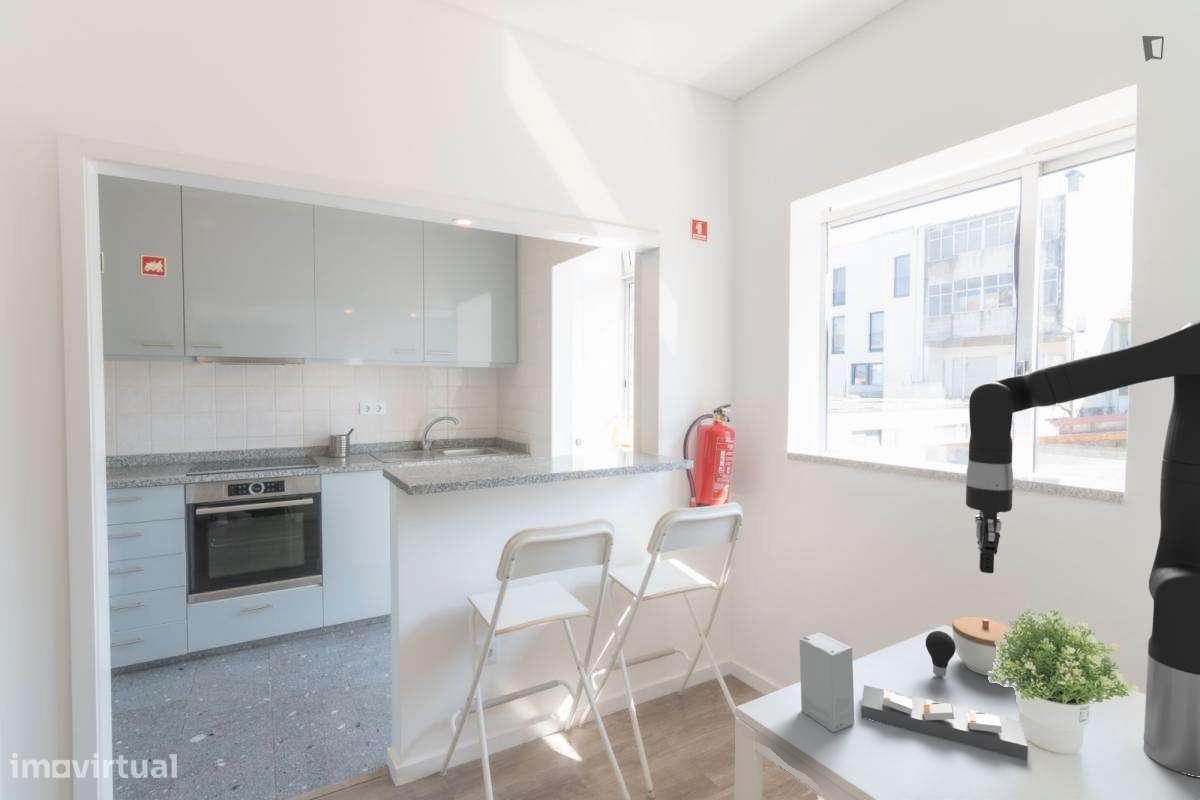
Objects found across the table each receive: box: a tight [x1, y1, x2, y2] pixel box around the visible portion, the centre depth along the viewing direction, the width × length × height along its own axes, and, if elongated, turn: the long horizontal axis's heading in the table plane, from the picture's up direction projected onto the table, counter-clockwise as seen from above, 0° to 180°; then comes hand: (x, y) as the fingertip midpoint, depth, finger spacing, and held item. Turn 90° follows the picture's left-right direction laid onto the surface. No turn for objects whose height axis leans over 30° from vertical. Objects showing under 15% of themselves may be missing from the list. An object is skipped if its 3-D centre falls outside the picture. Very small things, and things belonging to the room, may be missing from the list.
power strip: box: [860, 684, 1029, 761], centre depth 108 cm, size 26×8×3 cm, turn 62°
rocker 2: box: [967, 713, 1002, 733], centre depth 103 cm, size 5×3×1 cm
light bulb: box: [925, 630, 956, 679], centre depth 125 cm, size 6×6×10 cm
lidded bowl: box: [951, 616, 1011, 677], centre depth 129 cm, size 13×13×11 cm
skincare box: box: [799, 632, 855, 733], centre depth 111 cm, size 8×6×15 cm
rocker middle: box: [923, 702, 954, 720], centre depth 107 cm, size 5×3×1 cm
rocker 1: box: [883, 689, 912, 714], centre depth 110 cm, size 5×3×1 cm
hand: (986, 571), depth 114 cm, fingers closed
